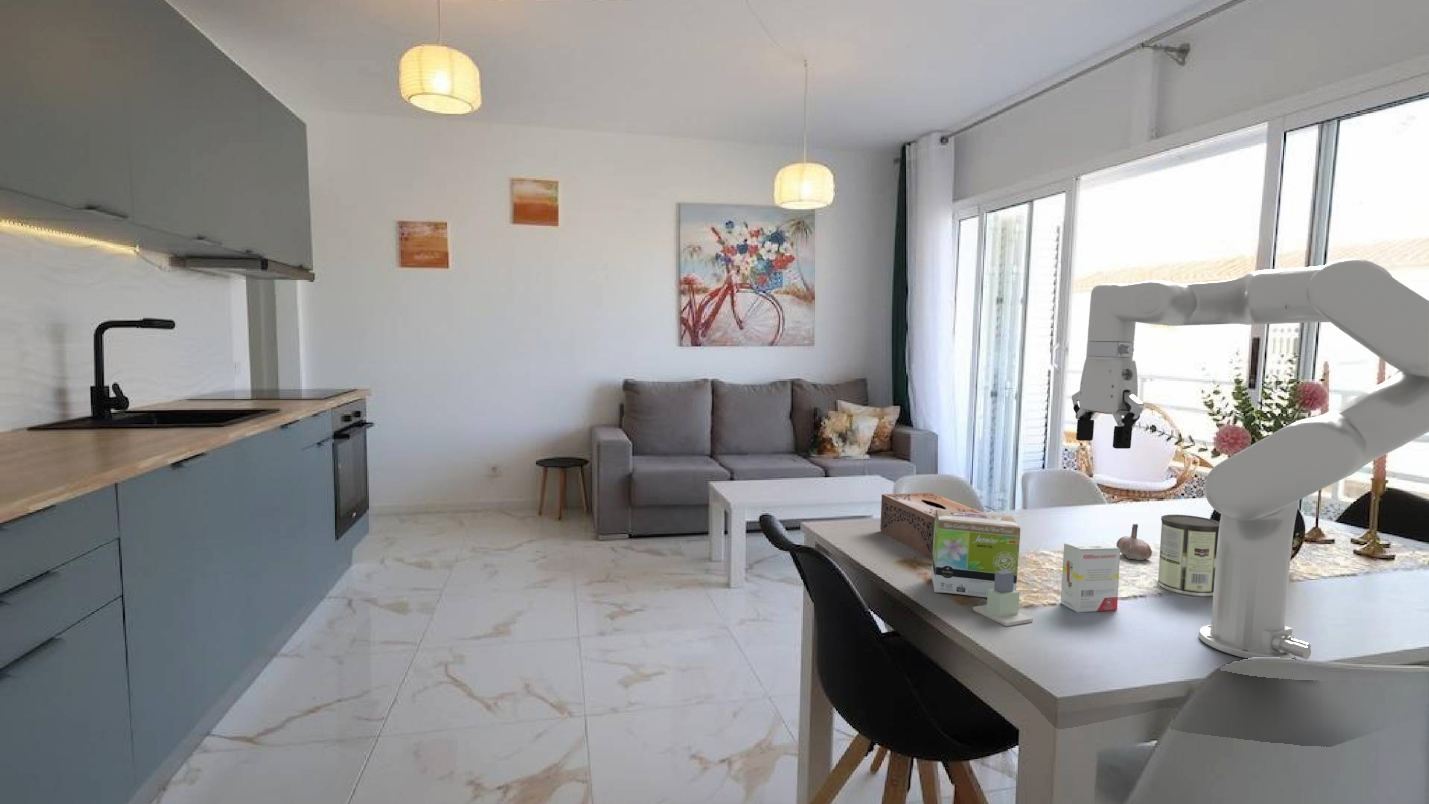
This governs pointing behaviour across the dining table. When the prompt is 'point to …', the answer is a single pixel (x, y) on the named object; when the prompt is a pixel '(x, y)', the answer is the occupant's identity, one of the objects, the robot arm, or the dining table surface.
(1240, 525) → the robot arm
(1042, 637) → the dining table surface
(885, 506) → the tissue box cover
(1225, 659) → the dining table surface
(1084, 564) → the ink box
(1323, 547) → the dining table surface
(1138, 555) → the garlic bulb
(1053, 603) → the dining table surface
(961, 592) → the tea box
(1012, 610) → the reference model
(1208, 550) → the coffee can
